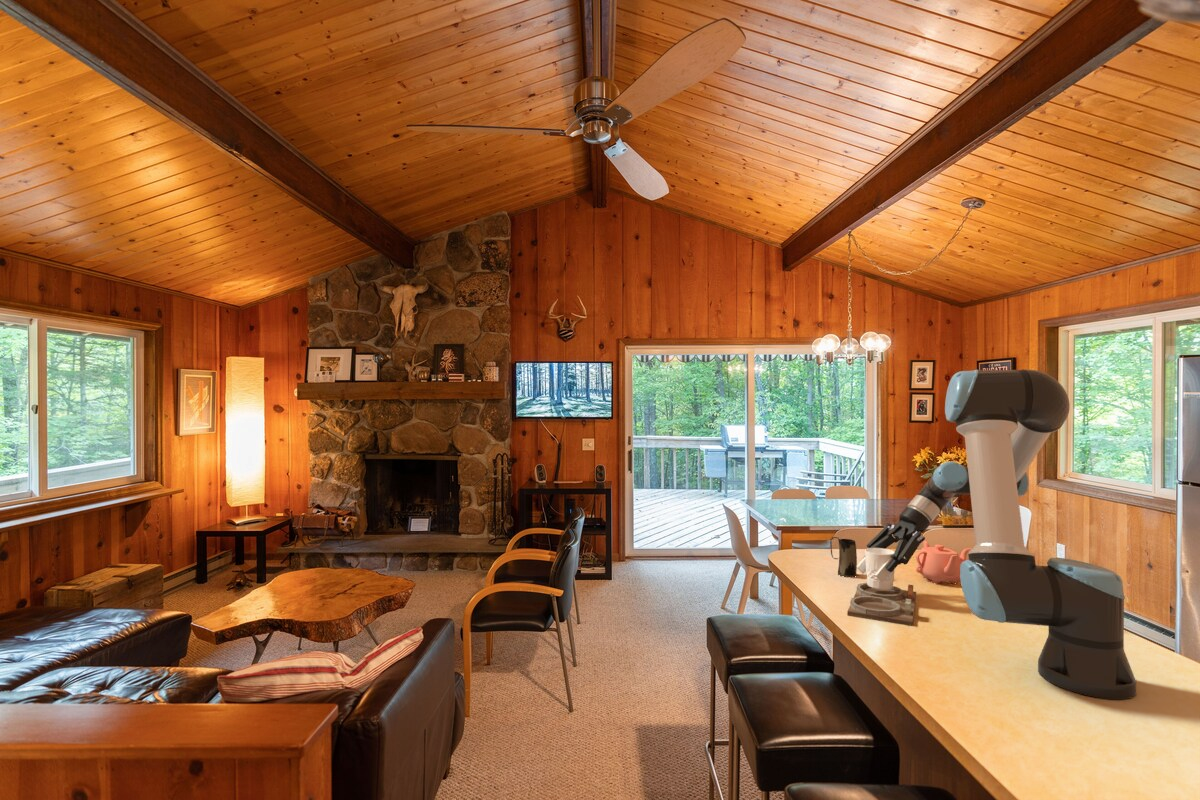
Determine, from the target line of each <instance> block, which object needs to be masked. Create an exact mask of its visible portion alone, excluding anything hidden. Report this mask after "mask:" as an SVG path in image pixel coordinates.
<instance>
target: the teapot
mask: <svg viewBox="0 0 1200 800" xmlns="http://www.w3.org/2000/svg"><path fill="white" fill-rule="evenodd" d="M922 543H923V547H922V548H921V550H920V551H917V552H916V554H915V560H916V563H917V566H916V567H915V571H916V572H917V573H918V574H920V575H921V576H922V578H923V579H925V578H927V579H926V580H930V581H931V582H932V583H931V584H934V583H937V584H936V585H939V584H938V583H940V582H942V583H943V582H944V583H945V582H946V583H947V582H948V583H949V584H951V583H958V582H961V580H960V574H961V572H960V566H961V563H962V562H963V561H966V560H967V555H968V552H969V551H970V550H972V549H973V548H972V547H967V548H964V549H962V551H961V553H960V556H959V554H958V552H956V551H954V550H952V549H949V548H948V547H945V545H943V544H935V545H934V546H930V544H929V542H927V540H926V539H925V540H924V541H923V542H922ZM940 584H941V583H940Z"/></svg>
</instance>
